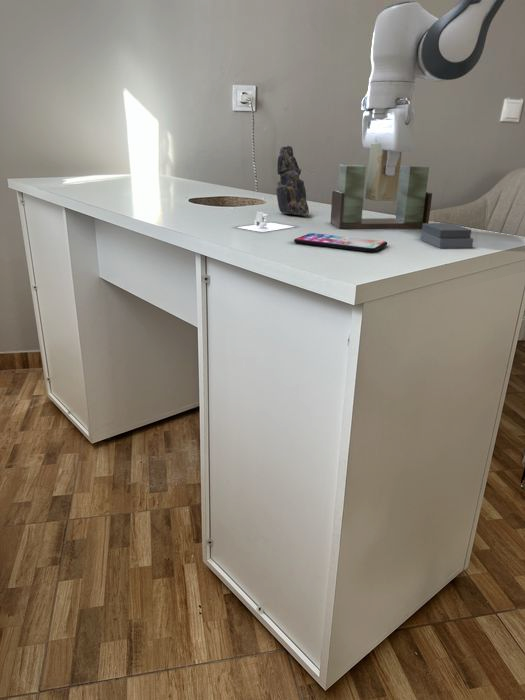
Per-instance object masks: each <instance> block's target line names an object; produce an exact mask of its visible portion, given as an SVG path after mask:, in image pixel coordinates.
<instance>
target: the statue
mask: <svg viewBox="0 0 525 700" xmlns="http://www.w3.org/2000/svg"><path fill="white" fill-rule="evenodd" d="M276 171H277V175H278V176H279V179H280V181H278V182H277V187H276V188H275V191H276V199H277V206H278V209H279V212H280V213H282V214H286V215H296V216H309V213H310V209H309V205H308V201H307V191H306V187H305V181H304V180H303V179H301V178H300V175H301V173H302V168H299V164H298V161H297V159H296V157H295V156H294V149H293V147H292V145H287V146H282V147H281V148H280V149H279V155H278V157H277V169H276Z"/></svg>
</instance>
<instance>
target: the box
mask: <svg viewBox="0 0 525 700" xmlns="http://www.w3.org/2000/svg"><path fill="white" fill-rule="evenodd" d="M402 153H403V152H400V156H399V159H398V162H397V164H396V167H395V174H394V175H393V176H388V175H385V174H384V166H386V162H387V158H388V157H387V151H386V150H382V148H381V144H380V143H371V146H370V149H369V158H368V167H367V177H366V187H365V194H364V195H365V196H364V199H365V200H369V201H374V202H375V201H376V202H395V201H396V202H397V198H398V190H399V181H400V171H401V163H402V155H403V154H402Z"/></svg>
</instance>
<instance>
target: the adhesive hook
mask: <svg viewBox="0 0 525 700" xmlns="http://www.w3.org/2000/svg"><path fill="white" fill-rule="evenodd" d="M267 216H269V214H268V213H264V212H263V211H257V212H256V214H255V220H254V221H253V223H254V224H252V225H245V226H238V227H237V229H244V230H248V231H254V232H258V233H266V232H273V231H278V230H284V229H291V228H295V226H294V225H287V224H283V223H276V222H267Z"/></svg>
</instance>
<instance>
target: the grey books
mask: <svg viewBox="0 0 525 700" xmlns="http://www.w3.org/2000/svg"><path fill="white" fill-rule="evenodd" d="M471 235H472V229H469V228H466V227H463V226H461V225H458V224H455V223H452V222H442V223H441V222H429V223H423V225H422V228H421V234H420V240H421V241H423V242H425V243H427V244H430V245H432V246H434V247H436V248H438V249H472V248H473V244H474V238H473V237H471Z"/></svg>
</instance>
